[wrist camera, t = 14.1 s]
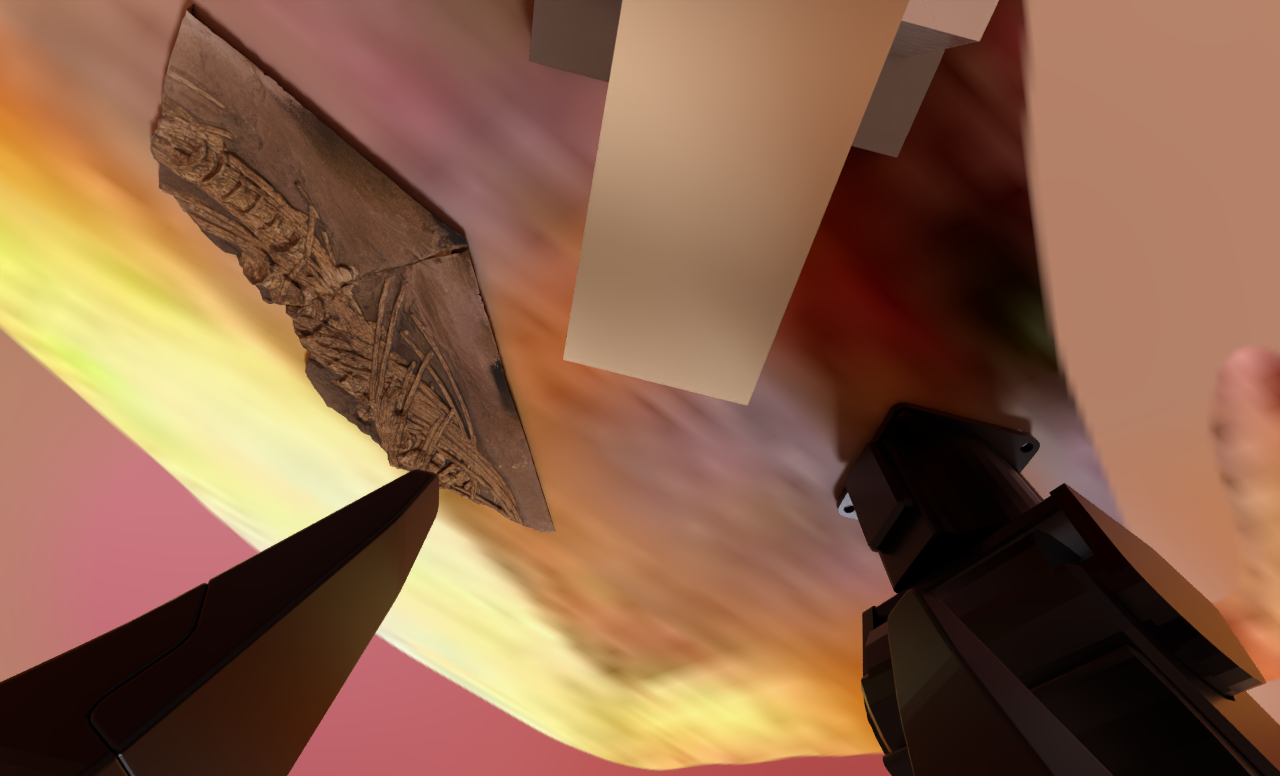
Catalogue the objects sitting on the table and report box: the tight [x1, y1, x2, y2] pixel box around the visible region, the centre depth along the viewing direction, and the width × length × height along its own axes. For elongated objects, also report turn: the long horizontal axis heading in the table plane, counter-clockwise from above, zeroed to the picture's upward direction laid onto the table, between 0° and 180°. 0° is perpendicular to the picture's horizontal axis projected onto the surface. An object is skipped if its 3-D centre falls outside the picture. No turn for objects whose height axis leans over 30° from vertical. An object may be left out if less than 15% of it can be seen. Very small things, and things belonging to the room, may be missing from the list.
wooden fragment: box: [150, 5, 555, 532], centre depth 23 cm, size 26×11×1 cm, turn 22°
